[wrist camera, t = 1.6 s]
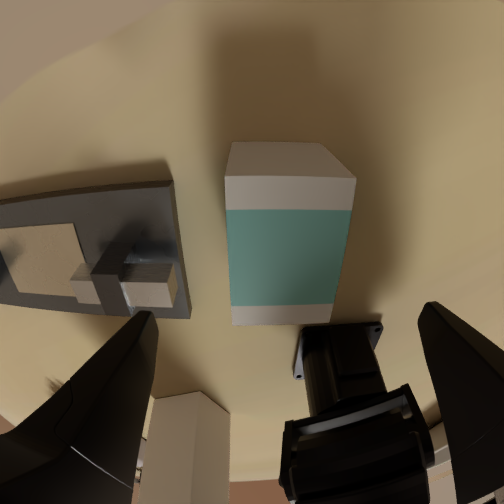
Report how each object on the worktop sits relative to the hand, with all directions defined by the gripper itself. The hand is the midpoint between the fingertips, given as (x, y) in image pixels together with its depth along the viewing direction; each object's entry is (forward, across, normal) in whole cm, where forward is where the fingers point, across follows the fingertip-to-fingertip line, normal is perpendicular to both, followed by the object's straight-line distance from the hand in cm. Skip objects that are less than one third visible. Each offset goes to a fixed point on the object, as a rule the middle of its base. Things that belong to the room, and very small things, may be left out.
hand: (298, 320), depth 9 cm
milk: (+9, +8, +22) cm, 25 cm away
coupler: (+8, 0, 0) cm, 8 cm away
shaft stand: (+8, +16, +3) cm, 18 cm away
